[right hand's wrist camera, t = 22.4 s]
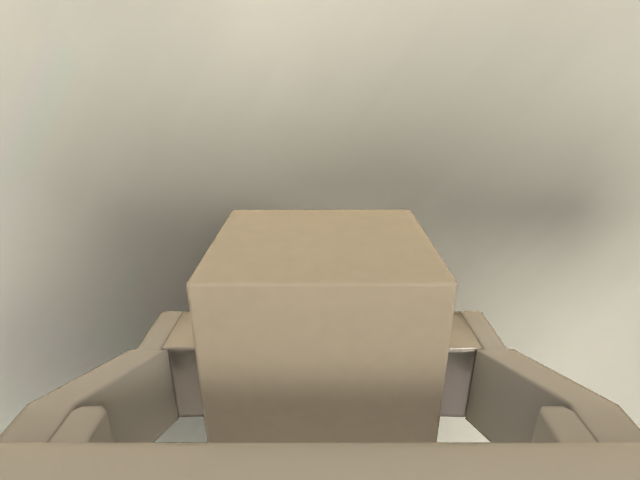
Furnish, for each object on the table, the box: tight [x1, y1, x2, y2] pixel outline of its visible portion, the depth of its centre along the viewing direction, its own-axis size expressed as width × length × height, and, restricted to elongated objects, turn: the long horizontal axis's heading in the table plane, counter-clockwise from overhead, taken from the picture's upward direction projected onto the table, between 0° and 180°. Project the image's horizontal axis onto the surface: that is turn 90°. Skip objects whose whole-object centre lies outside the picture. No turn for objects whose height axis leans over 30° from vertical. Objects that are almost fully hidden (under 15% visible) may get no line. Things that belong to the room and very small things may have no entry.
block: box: [186, 209, 457, 443], centre depth 10 cm, size 5×5×4 cm
